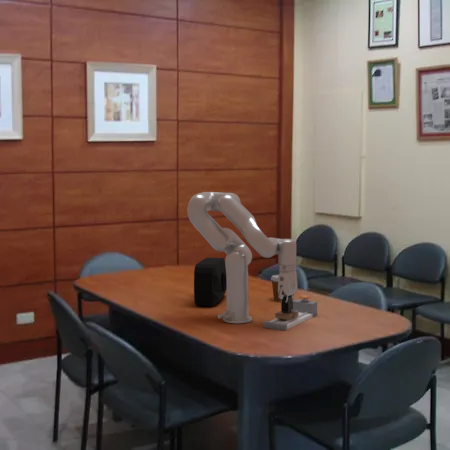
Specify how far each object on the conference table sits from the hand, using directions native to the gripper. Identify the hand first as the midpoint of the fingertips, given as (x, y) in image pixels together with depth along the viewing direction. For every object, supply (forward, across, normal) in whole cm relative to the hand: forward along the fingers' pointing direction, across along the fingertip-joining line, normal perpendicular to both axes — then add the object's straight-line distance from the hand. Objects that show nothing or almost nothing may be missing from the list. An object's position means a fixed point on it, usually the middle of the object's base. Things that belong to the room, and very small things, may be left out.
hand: (287, 310), depth 304 cm
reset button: (0, +18, 0) cm, 18 cm away
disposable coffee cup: (+6, +38, +24) cm, 45 cm away
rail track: (+6, +4, 0) cm, 7 cm away
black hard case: (+6, +19, +50) cm, 54 cm away
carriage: (+3, 0, 0) cm, 3 cm away
